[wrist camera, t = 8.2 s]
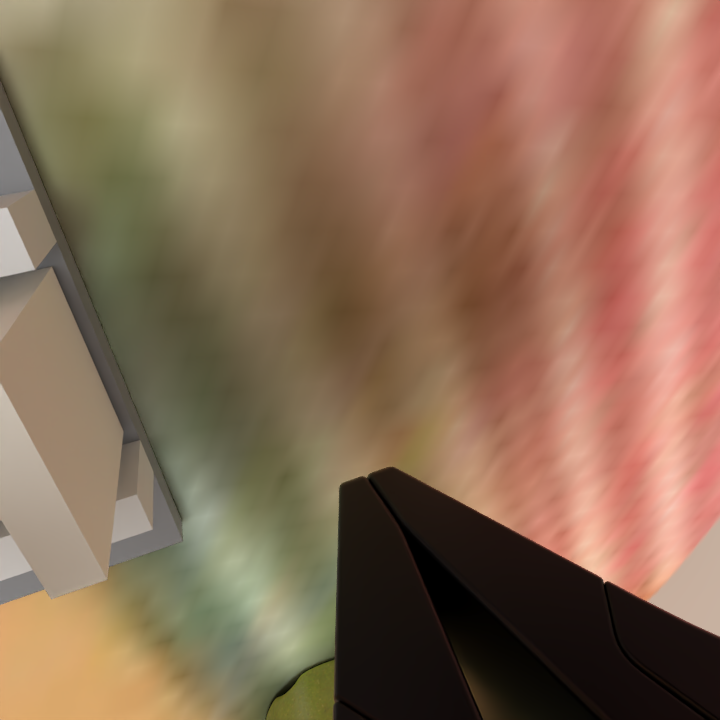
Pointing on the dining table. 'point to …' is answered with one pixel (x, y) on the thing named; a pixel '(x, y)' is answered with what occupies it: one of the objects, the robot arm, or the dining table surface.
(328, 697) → the plant pot
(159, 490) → the grey angular frame
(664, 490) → the dining table surface
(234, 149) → the dining table surface
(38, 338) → the beige angular block
